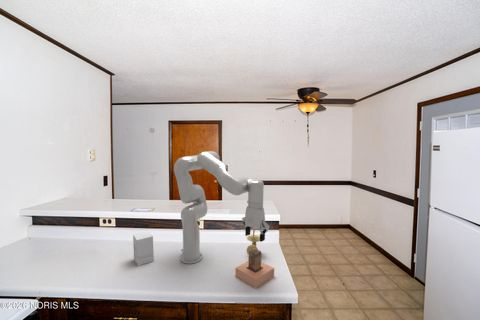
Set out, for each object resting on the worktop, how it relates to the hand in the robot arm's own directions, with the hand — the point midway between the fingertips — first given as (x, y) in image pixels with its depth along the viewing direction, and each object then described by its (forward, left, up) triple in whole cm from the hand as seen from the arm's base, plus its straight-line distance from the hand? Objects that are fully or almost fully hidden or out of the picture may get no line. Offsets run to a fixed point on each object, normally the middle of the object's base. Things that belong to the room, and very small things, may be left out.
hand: (254, 237), depth 122 cm
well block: (0, 0, -20) cm, 20 cm away
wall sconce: (-14, +15, -20) cm, 29 cm away
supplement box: (-55, -34, -21) cm, 68 cm away
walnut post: (0, 0, -20) cm, 20 cm away
